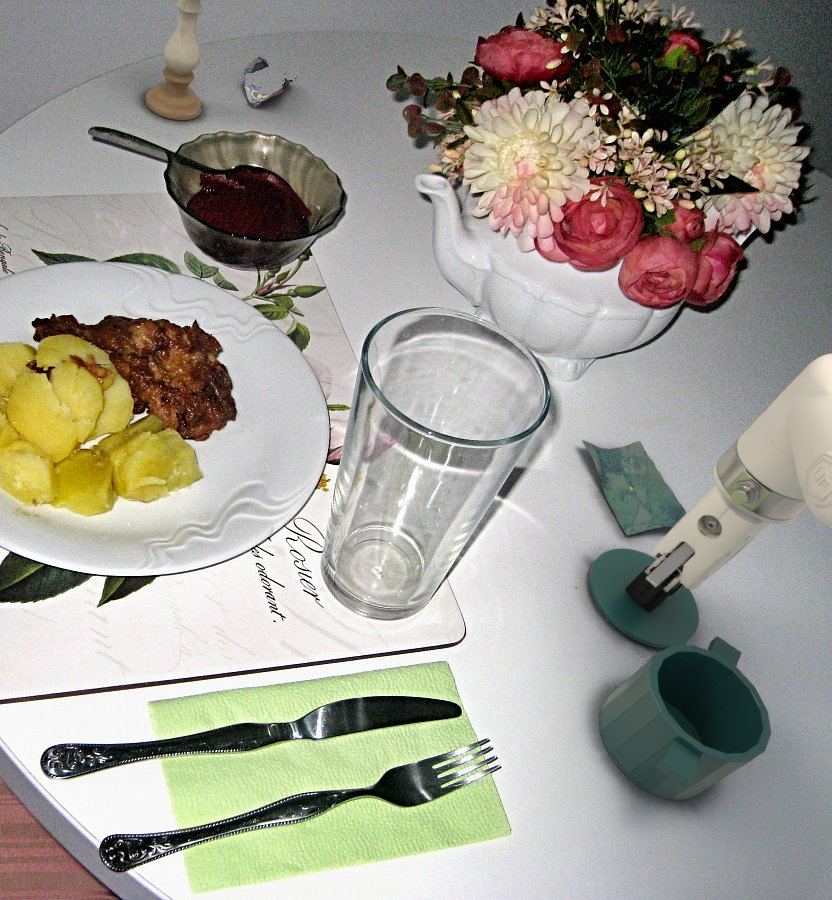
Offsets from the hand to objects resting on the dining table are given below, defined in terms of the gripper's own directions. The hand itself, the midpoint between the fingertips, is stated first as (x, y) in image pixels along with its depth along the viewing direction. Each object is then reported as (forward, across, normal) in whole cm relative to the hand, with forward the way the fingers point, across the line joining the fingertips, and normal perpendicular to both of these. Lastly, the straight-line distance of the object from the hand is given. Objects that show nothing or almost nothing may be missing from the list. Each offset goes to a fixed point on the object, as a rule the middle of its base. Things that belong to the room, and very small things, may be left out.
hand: (649, 591), depth 90 cm
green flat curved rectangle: (+2, +12, +10) cm, 16 cm away
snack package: (+2, +26, +97) cm, 100 cm away
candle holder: (+2, +8, +97) cm, 97 cm away
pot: (+2, -12, -10) cm, 16 cm away
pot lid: (+1, 0, 0) cm, 1 cm away
